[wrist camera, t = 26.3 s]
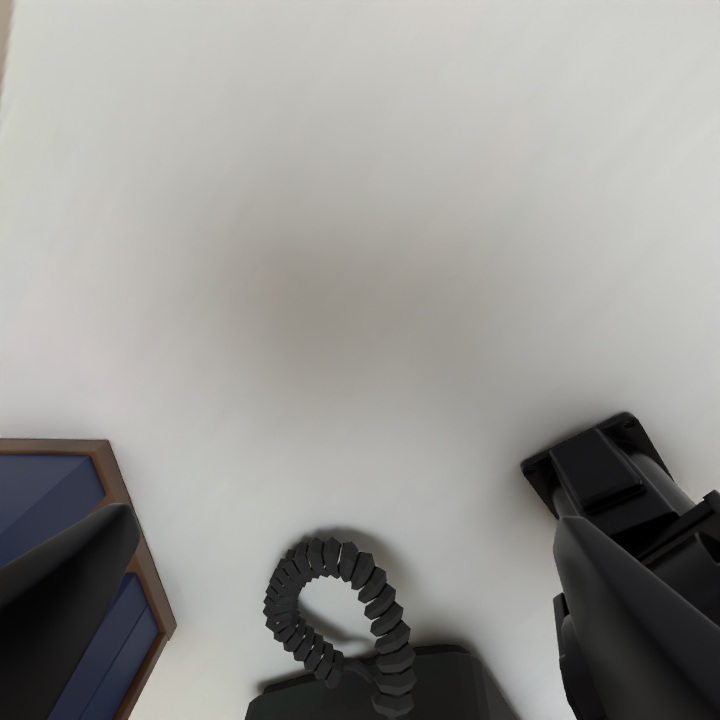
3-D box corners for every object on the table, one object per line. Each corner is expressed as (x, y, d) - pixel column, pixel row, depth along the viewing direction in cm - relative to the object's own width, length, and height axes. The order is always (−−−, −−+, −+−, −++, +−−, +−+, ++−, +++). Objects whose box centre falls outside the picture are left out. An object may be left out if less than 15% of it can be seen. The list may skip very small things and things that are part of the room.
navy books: (136, 572, 28) (-10, 789, 18) (159, 630, 30) (43, 847, 20) (40, 568, 29) (-152, 774, 19) (71, 624, 31) (-83, 832, 21)
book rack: (108, 439, 25) (-95, 619, 14) (177, 626, 32) (75, 830, 22) (-12, 438, 25) (-286, 607, 15) (82, 620, 33) (-58, 815, 23)
